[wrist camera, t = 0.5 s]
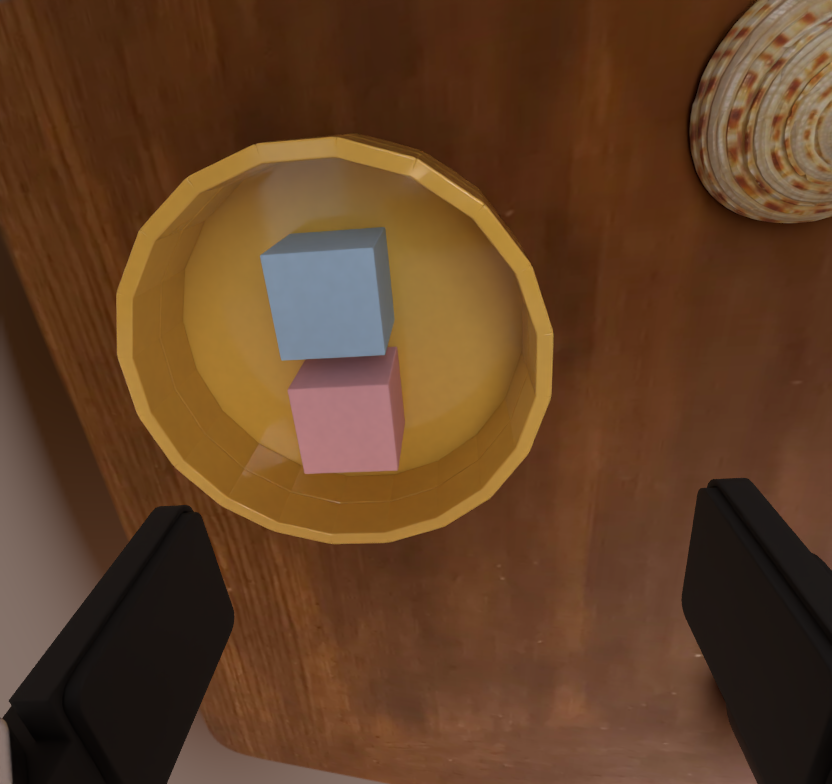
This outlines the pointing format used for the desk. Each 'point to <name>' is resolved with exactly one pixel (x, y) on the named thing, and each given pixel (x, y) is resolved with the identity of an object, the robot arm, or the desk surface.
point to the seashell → (769, 114)
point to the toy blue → (330, 293)
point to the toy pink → (349, 413)
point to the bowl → (271, 377)
